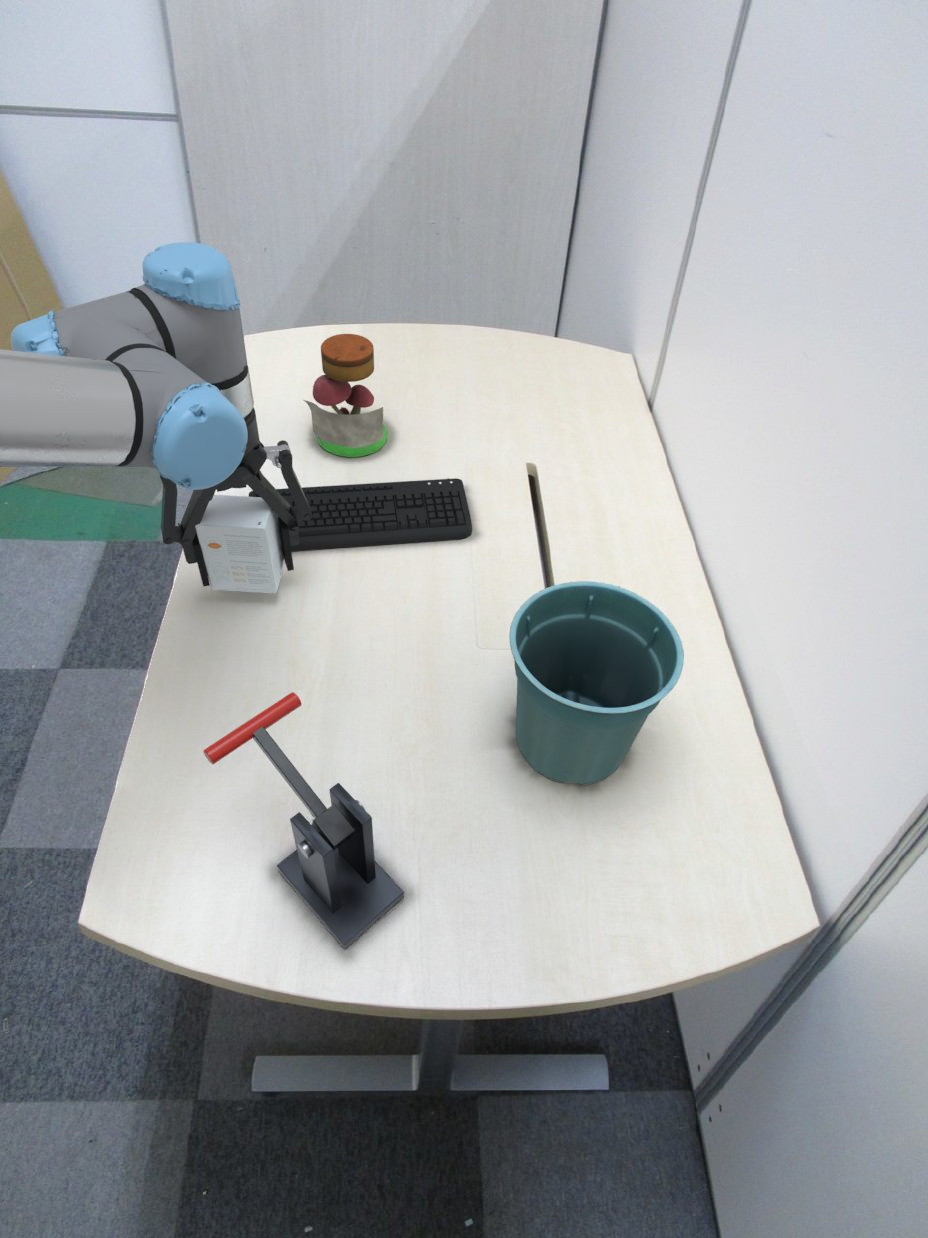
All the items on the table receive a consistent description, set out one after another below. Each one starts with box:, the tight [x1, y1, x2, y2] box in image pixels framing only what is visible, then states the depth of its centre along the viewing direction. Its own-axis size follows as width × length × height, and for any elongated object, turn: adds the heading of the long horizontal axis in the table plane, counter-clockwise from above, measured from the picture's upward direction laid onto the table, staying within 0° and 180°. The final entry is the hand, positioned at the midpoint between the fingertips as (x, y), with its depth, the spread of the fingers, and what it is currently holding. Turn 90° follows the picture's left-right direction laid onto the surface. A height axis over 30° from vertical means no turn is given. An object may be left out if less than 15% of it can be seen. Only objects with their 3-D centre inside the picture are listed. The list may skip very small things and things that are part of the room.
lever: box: [202, 691, 355, 851], centre depth 66 cm, size 13×9×2 cm
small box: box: [195, 494, 286, 594], centre depth 92 cm, size 8×6×10 cm
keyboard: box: [248, 478, 473, 552], centre depth 107 cm, size 30×11×2 cm, turn 99°
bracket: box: [276, 782, 405, 950], centre depth 68 cm, size 10×7×13 cm
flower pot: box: [508, 580, 685, 786], centre depth 80 cm, size 16×16×16 cm
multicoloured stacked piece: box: [302, 333, 388, 458], centre depth 115 cm, size 12×13×15 cm
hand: (247, 570), depth 95 cm, fingers closed on small box, 9 cm apart
